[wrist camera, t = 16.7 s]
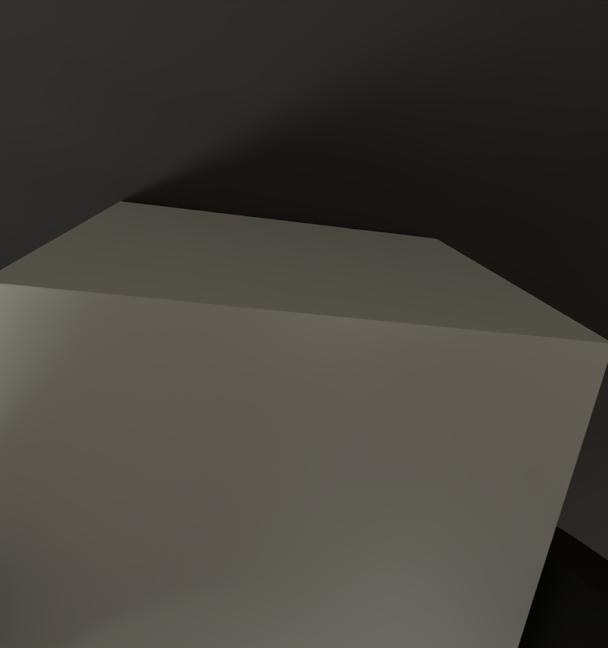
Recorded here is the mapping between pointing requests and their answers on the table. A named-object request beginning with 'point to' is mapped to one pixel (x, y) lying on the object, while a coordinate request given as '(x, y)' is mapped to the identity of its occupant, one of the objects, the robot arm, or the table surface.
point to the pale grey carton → (277, 437)
